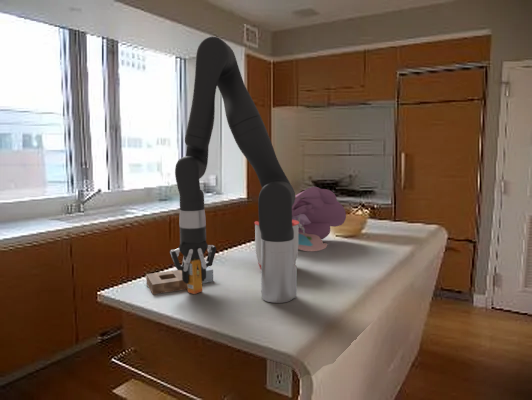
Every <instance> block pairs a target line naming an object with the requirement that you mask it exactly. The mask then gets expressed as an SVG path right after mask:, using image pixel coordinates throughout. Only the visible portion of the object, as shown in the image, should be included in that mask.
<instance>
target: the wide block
mask: <svg viewBox="0 0 532 400" xmlns="http://www.w3.org/2000/svg"><path fill="white" fill-rule="evenodd" d="M210 282H214V269H213V268H211V266H208V267H207V268H206V279H204V281H202V284H204V283H210Z"/></svg>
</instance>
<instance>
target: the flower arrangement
mask: <svg viewBox="0 0 532 400" xmlns="http://www.w3.org/2000/svg"><path fill="white" fill-rule="evenodd" d="M346 218H347V211H346V209H345V208H344V206H343V204H341V203H340V202H339V201H338V199H337V195H336V194H335V192H333V191H332V190H330V189H326V188H320V187H317V186H312V187H311V186H310V187H309V188H306V189H305V190H303V191H301V192H299V193H297V194H295V202H294V204H293V206H292V220H296V221H298V222H299V224H298V250H300V251H305V252H319V251H323V250H324V249H326V248H327V247H328V244H327V242H324V241H323V240H324V239H326V238H327V237H328V236H329V235H330V232H331V227H332V228H333V227H338V226H339V227H340V226H342V225H343V224H344V223H345V221H346Z"/></svg>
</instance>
